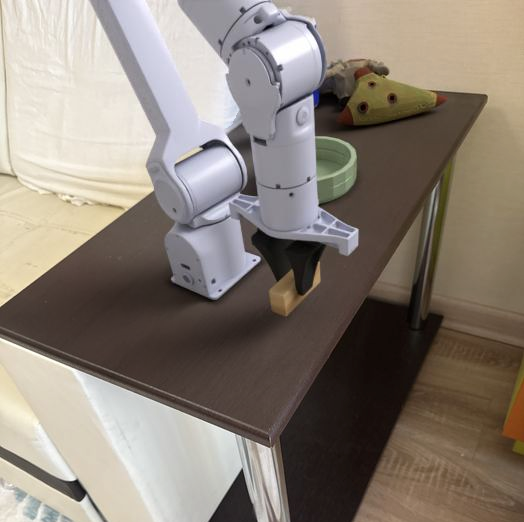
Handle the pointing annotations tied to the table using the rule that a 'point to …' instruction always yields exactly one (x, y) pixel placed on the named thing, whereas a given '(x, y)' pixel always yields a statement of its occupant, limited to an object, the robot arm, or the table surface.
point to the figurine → (348, 77)
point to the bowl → (334, 167)
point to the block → (288, 293)
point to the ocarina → (384, 100)
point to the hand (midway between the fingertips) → (295, 286)
